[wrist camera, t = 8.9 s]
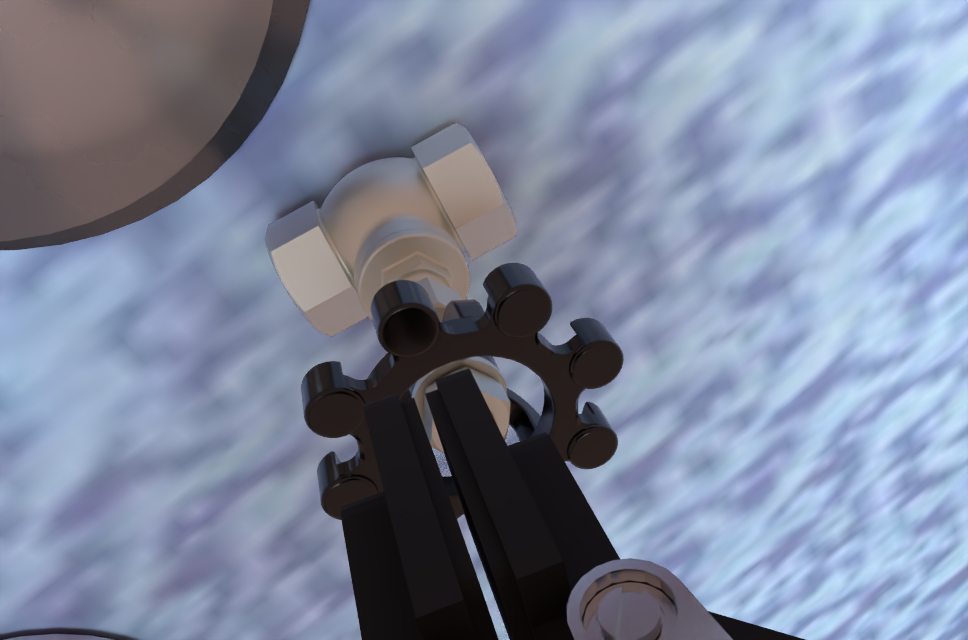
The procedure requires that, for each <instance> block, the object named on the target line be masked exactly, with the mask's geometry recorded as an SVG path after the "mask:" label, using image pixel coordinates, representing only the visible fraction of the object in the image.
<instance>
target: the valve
mask: <svg viewBox="0 0 968 640" xmlns="http://www.w3.org/2000/svg"><path fill="white" fill-rule="evenodd" d="M411 149H412V151H413V153H414V155H415V157H414V158H403V157H393V158H384V159H379V160H375V161H372V162H369V163H366V164H364V165H362V166H360V167H358V168H356V169H354V170H353V171H351V172H350V173H348V174H347V175H346V176H344V177H343V178H342V179H341V180H340V181H339V182H338V183H337V184H336V185H335V186H334V187H333V189H332V190H331V191H330V193H329V194H328V195H327V197H326V199H325V200H324V202H323V204H322V207H321V208H319V207H318V206H317V205H316V203H315V202H314V201H311V202H310V203H308V204H306V205H304V206H302V207H300V208H299V209H297V210H295V211H293V212H291V213H289V214H288V215H286V216H284V217H282V218H280V219H278V220H277V221H275V222H273V223H271V224H269V226H268V228H267V232H266V237H265V241H266V246H267V250H268V253H269V256H270V258H271V261H272V263H273V265H274V267H275V270H276V272H277V274H278V276H279V278H280V279H281V281H282V283H283V285H284V287H285V288H286V290H287V292H288V293H289V295H290V297H291V298H292V300H293V301H294V303H295V304H296V306H297V307H298V309H299V310H300V311H301V313H302V314H303V315H304V317H305V318H306V319H307V320H308V321H309V323H310V324H311V325H312V326H313V327H314V328H316V329H317V330H318V331H320V332H322V333H324V334H326V335H328V336H331V337H332V336H334V335H336V334H338V333H339V332H341V331H343V330H345V329H347V328H349V327H351V326H352V325H354V324H356V323H358V322H360V321H362V320H363V319H365V318H367V317H369V318H370V319H371V320H372V321H373V322H374V326H375V329H376V333H377V336H378V340H379V342H380V344H381V346H382V347H383V348H384V349H385V350H386V351H387V352H388V353H387V354H386V356H385V357H384V358H383V359H382V360H381V361H380V362H379V363H378V364H377V365H376V367H375V368H374V369H373V371H372V372H371V374H370V375H369V377H368V378H367V379H366V380H356V379H353V378H351V377H348V376H345V375H343V372H342V367H341V363H340V362H336V361H331V362H324V363H321V364H318V365H316V366H315V367H313V368H312V369H311V370H309V371H308V373H307V374H306V375H305V377H304V378H303V381H302V385H301V391H302V401H303V410H304V418H305V421H306V424H307V425H308V427H309V428H310V429H311V430H312V431H313V432H314V433H316V434H318V435H320V436H323V437H328V438H339V437H343V436H346V435H348V434H350V435H352V436H353V437H355V438H356V440H357V443H358V451H357V453H356V455H355V456H354V457H353V458H352V459H350V460H348V461H346V462H343V463H341V462H340V461H339V459H338V457H337V455H336V454H335V452H333V451H332V452H330V453H328V454H327V455H326V456H325V457H324V458H323V459H322V460H321V462H320V463H319V466H318V470H317V475H318V483H319V491H320V499H321V505H322V508H323V509H324V511H325V512H326V513H327V514H328V515H329V516H331V517H333V518H336V519H339V520H341V512H340V510H341V507H342V506H345V505H348V504H350V503H353V502H356V501H359V500H361V499H364V498H367V497H370V496H372V495H375V494H378V493H380V492H383V491H384V489H383V485H382V481H381V477H380V473H379V469H378V465H377V461H376V457H375V453H374V449H373V445H372V441H371V437H370V433H369V429H368V425H367V421H366V417H365V413H364V409H363V405H365V404H368V403H371V402H374V401H376V400H379V399H382V398H385V397H388V396H391V395H394V394H396V393H397V394H398V396H399V399H400V402H403V401H406V400H408V399H411V398H414V399H415V402H416V405H417V408H418V410H419V413H420V416H421V419H422V422H423V425H424V427H425V430H426V433H427V436H428V439H429V442H430V445H431V447H433V448H435V449H437V450H439V451H441V452H443V453H444V451H443V447H442V444H441V441H440V438H439V435H438V432H437V429H436V426H435V423H434V420H433V417H432V414H431V411H430V408H429V405H428V402H427V399H426V396H425V393H428V392H431V391H434V390H437V389H438V388H437V385H436V381H435V380H436V379H439V378H442V377H445V376H448V375H451V374H454V373H456V372H459V371H462V370H465V369H468V368H469V369H470V370H471V372H472V374H473V376H474V378H475V380H476V383H477V385H478V387H479V389H480V391H481V393H482V395H483V397H484V399H485V401H486V403H487V405H488V407H489V409H490V411H491V413H492V415H493V417H494V420H495V422H496V424H497V426H498V428H499V430H500V432H501V434H502V436H503V438H504V440H505V439H506V435H507V431H508V426H509V425H510V426H511V427H512V428H513V429H514V430H515V432H516V434H517V436H518V438H519V440H520V441H523V440H526V439H528V438H531V437H534V436H537V435H539V434H542V433H545V432H546V433H547V434H548V435H549V436H550V438H551V439H552V441H553V442H554V444H555V446H556V448H557V449H558V451H559V453H560V455H561V456H562V458H563V460H564V461H568V462H571V463H572V464H573V465H574V466H575V467H578V468H580V469H593V468H596V467H599V466H601V465H603V464H605V463H606V462H607V461H609V460H610V459H611V457H612V456H613V455H614V453H615V451H616V449H617V446H618V438H617V435H616V433H615V432H614V430H613V429H612V427H611V425H610V424H609V422H608V421H607V419H606V418H605V416H604V415H603V413H602V412H601V410H600V408H599V407H598V406H597V405H595V404H593V403H590V402H586V403H585V405H584V408H583V411H582V414H578V399H579V396H580V394H581V393H582V392H583V391H584V390H585V389H586V388H587V389H595V388H599V387H602V386H605V385H607V384H608V383H610V382H611V381H612V380H614V379H615V378H616V376H617V375H618V374H619V372H620V370H621V368H622V365H623V353H622V350H621V349H620V347H619V346H618V344H617V343H616V342H615V340H614V339H613V338H612V336H611V335H610V334H609V332H608V331H607V330H606V328H605V327H604V326H603V325H602V324H601V323H600V322H599V321H597V320H595V319H591V318H581V319H576V320H574V321H572V322H571V323H570V325H571V327H572V328H573V330H574V331H575V333H576V334H577V335H575V336H574V337H573V338H572V339H570V340H569V341H568V342H567V343H565V344H563V345H558V346H555V345H552V344H551V343H550V342H549V341H548V340H546V339H545V338H544V337H543V336H542V335H541V334H539V333H538V331H540V330H541V329H542V328H543V327H544V326H545V325H546V324H547V322H548V320H549V319H550V316H551V313H552V300H551V297H550V295H549V294H548V292H547V291H546V289H545V288H544V286H543V285H542V283H541V282H540V281H539V279H538V278H537V276H536V275H535V273H534V272H533V271H532V270H531V269H530V268H529V267H527V266H525V265H523V264H520V263H507V264H504V265H501V266H499V267H497V268H495V269H494V270H493V271H492V272H490V274H489V275H488V276H487V277H486V279H485V281H484V283H483V286H484V288H485V290H486V291H487V293H488V295H489V296H488V300H487V309H486V312H484V310H483V308H482V306H481V305H480V303H478V302H477V301H476V300H465V299H466V297H467V294H468V291H469V285H470V273H469V268H468V265H467V262H466V260H465V258H464V256H463V253H464V252H467V253H468V254H469V256H470V258H471V260H474V259H476V258H478V257H479V256H481V255H483V254H485V253H487V252H489V251H490V250H492V249H494V248H496V247H498V246H500V245H501V244H503V243H505V242H507V241H509V240H511V239H512V238H514V237H516V222H515V219H514V216H513V214H512V211H511V209H510V207H509V204H508V202H507V200H506V198H505V196H504V194H503V192H502V190H501V188H500V186H499V184H498V182H497V180H496V178H495V176H494V174H493V172H492V170H491V169H490V167H489V165H488V163H487V161H486V160H485V158H484V156H483V154H482V152H481V151H480V149H479V147H478V146H477V144H476V142H475V141H474V139H473V138H472V136H471V135H470V133H469V132H468V131H467V129H466V128H465V127H463V126H461V125H459V124H456V123H454V124H452V125H451V126H449V127H447V128H445V129H443V130H441V131H440V132H438V133H436V134H434V135H432V136H430V137H429V138H427V139H425V140H423V141H421V142H419V143H418V144H416V145H414V146H412V147H411ZM492 356H494V357H502V358H507V359H511V360H514V361H516V362H519V363H521V364H523V365H525V366H527V367H528V368H530V369H531V370H532V371H533V372H535V373H536V374H537V375H538V376H539V377H540V378H541V380H542V383H543V386H544V407H543V412H542V415H541V416H540V415H539V414H538V413H537V412H536V411H535V410H534V408H532V407H531V406H530V405H529V404H528V403H527V402H526V401H525V400H523V399H522V398H521V397H520V396H518V395H517V394H516V393H514V392H513V391H511V390H509V389H508V388H506V384H505V381H504V379H503V377H502V375H501V373H500V371H499V369H498V367H497V365H496V363H495V361H494V359H493V357H492ZM442 479H443V481H444V484H445V487H446V490H447V493H448V496H449V499H450V501H451V504H452V507H453V510H454V513H455V516H456V518H457V519H458V518H459V517H460V516H461V515H463V514H464V511H463V508H462V505H461V502H460V499H459V496H458V493H457V490H456V487H455V484H454V481H453V478H452V476H451V477H442Z"/></svg>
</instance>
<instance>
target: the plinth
mask: <svg viewBox="0 0 968 640" xmlns="http://www.w3.org/2000/svg"><path fill="white" fill-rule="evenodd" d="M309 1H310V0H273V4H272V9H271V15H270V20H269V26H268V29H267V32H266V35H265V38H264V41H263V44H262V47H261V50H260V53H259V56H258V59H257V63H256V66H255V68H254V70H253V72H252V74H251V76H250V78H249V80H248V82H247V84H246V86H245V88H244V90H243V92H242V94H241V96H240V98H239V100H238V102H237V104H236V105H235V107H234V108H233V110H232V111H231V113H230V114H229V115H228V117H227V118H226V120H225V121H224V123H223V124H222V126H221V127H220V128H219V130H218V131H217V133H216V134H215V135H214V137H213V138H212V139H211V140H210V141H209V142H208V143H207V144H206V145H205V146H204V147H203V148H202V149H201V151H200V152H199V153H198V154H197V155H196V156H195V157H194V158H193V159H192V160H191V161H190V162H189V163H188V164H187V165H186V166H185V167H183V168H182V169H181V170H180V171H178V172H177V173H176V174H175V175H173V176H172V177H171V178H170V179H168V180H167V181H166V182H165V183H163V184H162V185H161V186H160V187H158V188H157V189H155V190H153V191H152V192H150V193H148V194H147V195H145V196H143V197H142V198H140V199H138V200H137V201H135V202H133V203H132V204H130V205H128V206H127V207H125V208H122V209H120V210H118V211H115V212H113V213H111V214H108V215H106V216H104V217H101V218H99V219H97V220H94V221H92V222H90V223H87V224H83V225H80V226H76V227H73V228H69V229H66V230H62V231H59V232H55V233H52V234H47V235H41V236H35V237H29V238H23V239H17V240H11V241H0V250H20V249H28V248H36V247H44V246H52V245H60V244H65V243H69V242H73V241H77V240H81V239H85V238H89V237H93V236H98V235H102V234H105V233H107V232H110V231H113V230H115V229H118V228H121V227H123V226H126V225H128V224H131V223H134V222H136V221H139V220H142V219H143V218H145V217H147V216H149V215H151V214H153V213H155V212H157V211H158V210H160V209H162V208H164V207H166V206H168V205H170V204H171V203H173V202H175V201H177V200H178V199H180V198H181V197H183V196H184V195H185V194H187V193H188V192H189V191H191V190H192V189H194V188H195V187H196V186H198V185H199V184H201V183H202V182H203V181H205V180H206V179H207V178H209V177H210V176H211V175H212V174H213V173H214V172H215V171H216V170H217V169H218V168H219V167H220V166H221V165H222V164H223V163H225V162H226V161H227V160H228V159H229V158H230V157H231V156H232V155H233V154H234V153H235V152H236V151H237V150H238V149H239V148H240V146H241V145H242V144H243V142H244V141H245V140H246V139H247V137H248V136H249V135H250V133H251V132H252V131H253V130H254V128H255V127H256V126H257V125H258V123H259V122H260V121H261V119H262V118H263V116H264V115H265V113H266V111H267V109H268V108H269V106H270V104H271V102H272V101H273V99H274V97H275V95H276V94H277V92H278V90H279V89H280V87H281V85H282V83H283V81H284V79H285V76H286V74H287V71H288V69H289V66H290V64H291V61H292V59H293V56H294V54H295V51H296V49H297V46H298V44H299V40H300V36H301V32H302V28H303V25H304V21H305V17H306V13H307V9H308V5H309Z"/></svg>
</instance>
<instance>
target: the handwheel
mask: <svg viewBox="0 0 968 640" xmlns="http://www.w3.org/2000/svg"><path fill="white" fill-rule="evenodd" d="M272 4H273V0H0V241H11V240H17V239H23V238H29V237H35V236H41V235H47V234H52V233H55V232H59V231H62V230H66V229H69V228H73V227H76V226H80V225H83V224H87V223H90V222H92V221H94V220H97V219H99V218H101V217H104V216H106V215H108V214H111V213H113V212H115V211H118V210H120V209H122V208H125V207H127V206H128V205H130V204H132V203H133V202H135V201H137V200H138V199H140V198H142V197H143V196H145V195H147V194H148V193H150V192H152V191H153V190H155V189H157V188H158V187H160V186H161V185H162V184H163V183H165V182H166V181H167V180H168V179H170V178H171V177H172V176H173V175H175V174H176V173H177V172H178V171H180V170H181V169H182V168H183V167H185V166H186V165H187V164H188V163H189V162H190V161H191V160H192V159H193V158H194V157H195V156H196V155H197V154H198V153H199V152H200V151H201V149H202V148H203V147H204V146H205V145H206V144H207V143H208V142H209V141H210V140H211V139H212V138H213V137H214V135H215V134H216V133H217V131H218V130H219V128H220V127H221V126H222V124H223V123H224V121H225V120H226V118H227V117H228V115H229V114H230V113H231V111H232V110H233V108H234V107H235V105H236V104H237V102H238V100H239V98H240V96H241V94H242V92H243V90H244V88H245V86H246V84H247V82H248V80H249V78H250V76H251V74H252V72H253V70H254V68H255V66H256V63H257V59H258V56H259V53H260V50H261V47H262V44H263V41H264V38H265V35H266V32H267V29H268V26H269V20H270V15H271V9H272Z"/></svg>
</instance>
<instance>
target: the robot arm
mask: <svg viewBox="0 0 968 640" xmlns="http://www.w3.org/2000/svg"><path fill="white" fill-rule="evenodd" d="M435 381H436V385H437V388H438V389H437V390H434V391H431V392H428V393H425V396H426V399H427V402H428V405H429V408H430V411H431V414H432V417H433V420H434V423H435V426H436V429H437V432H438V435H439V438H440V441H441V444H442V447H443V451H444V454H445V457H446V460H447V463H448V466H449V469H450V472H451V475H452V478H453V481H454V484H455V487H456V490H457V493H458V496H459V499H460V502H461V505H462V508H463V511H464V514H465V517H466V520H467V523H468V526H469V529H470V532H471V535H472V538H473V540H474V543H475V546H476V549H477V551H478V554H479V557H480V560H481V562H482V565H483V568H484V570H485V573H486V576H487V579H488V581H489V584H490V587H491V590H492V592H493V595H494V598H495V601H496V603H497V606H498V609H499V611H500V614H501V617H502V620H503V622H504V625H505V628H506V631H507V633H508V636H509V639H510V640H805V639H801V638H798V637H794V636H791V635H788V634H784V633H781V632H777V631H774V630H771V629H767V628H764V627H760V626H757V625H753V624H750V623H747V622H743V621H740V620H736V619H733V618H730V617H726V616H723V615H719V614H716V613H712V612H709V611H707V610H706V609H705V608H704V607H703V605H702V604H701V603H700V602H699V601H698V600H697V599H696V598H695V596H694V595H693V594H692V593H691V592H690V591H689V590H688V588H687V587H686V586H685V585H684V584H683V583H682V582H681V581H680V579H678V578H677V577H676V576H675V575H673V574H672V573H671V572H670V571H669V570H667V569H666V568H664V567H662V566H660V565H657V564H655V563H653V562H650V561H645V560H638V559H631V558H630V559H621V560H620V558H619V556H618V555H617V553H616V551H615V549H614V548H613V546H612V544H611V542H610V541H609V539H608V537H607V535H606V534H605V532H604V530H603V528H602V527H601V525H600V523H599V521H598V520H597V518H596V516H595V514H594V513H593V511H592V509H591V507H590V506H589V504H588V502H587V500H586V498H585V497H584V495H583V493H582V491H581V490H580V488H579V486H578V484H577V483H576V481H575V479H574V477H573V476H572V474H571V472H570V470H569V469H568V467H567V465H566V463H565V462H564V460H563V458H562V456H561V455H560V453H559V451H558V449H557V448H556V446H555V444H554V442H553V441H552V439H551V438H550V436H549V435H548V434H547V433H546V432H545V433H542V434H539V435H537V436H534V437H531V438H528V439H526V440H523V441H520V442H517V443H515V444H512V445H509V446H507V444H506V442H505V440H504V438H503V436H502V434H501V432H500V430H499V428H498V426H497V424H496V422H495V420H494V417H493V415H492V413H491V411H490V409H489V407H488V405H487V403H486V401H485V399H484V397H483V395H482V393H481V391H480V389H479V387H478V385H477V383H476V380H475V378H474V376H473V374H472V372H471V370H470V369H469V368H468V369H465V370H462V371H459V372H456V373H454V374H451V375H448V376H445V377H442V378H439V379H436V380H435ZM363 409H364V413H365V417H366V421H367V425H368V429H369V433H370V437H371V441H372V445H373V449H374V453H375V457H376V461H377V465H378V469H379V473H380V477H381V481H382V485H383V489H384V491H383V492H380V493H378V494H375V495H372V496H370V497H367V498H364V499H361V500H359V501H356V502H353V503H350V504H348V505H345V506H342V507H341V510H340V512H341V520H342V526H343V531H344V537H345V543H346V549H347V555H348V560H349V566H350V572H351V578H352V584H353V590H354V595H355V601H356V607H357V613H358V619H359V624H360V630H361V636H362V640H498V637H497V634H496V631H495V628H494V625H493V622H492V619H491V616H490V613H489V610H488V607H487V604H486V601H485V598H484V596H483V593H482V590H481V587H480V584H479V581H478V578H477V575H476V572H475V570H474V567H473V564H472V561H471V558H470V555H469V553H468V550H467V547H466V544H465V541H464V538H463V536H462V533H461V530H460V527H459V524H458V521H457V518H456V516H455V513H454V510H453V507H452V504H451V501H450V499H449V496H448V493H447V490H446V487H445V484H444V481H443V479H442V476H441V473H440V470H439V467H438V464H437V462H436V459H435V456H434V453H433V450H432V447H431V445H430V442H429V439H428V436H427V433H426V430H425V427H424V425H423V422H422V419H421V416H420V413H419V410H418V408H417V405H416V402H415V399H414V398H411V399H408V400H406V401H403V402H400V399H399V396H398V394H397V393H396V394H394V395H391V396H388V397H385V398H382V399H379V400H376V401H374V402H371V403H368V404H365V405H363ZM4 640H114V639H108V638H103V637H97V636H91V635H73V634H45V635H31V636H20V637H15V638H9V639H4Z"/></svg>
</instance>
